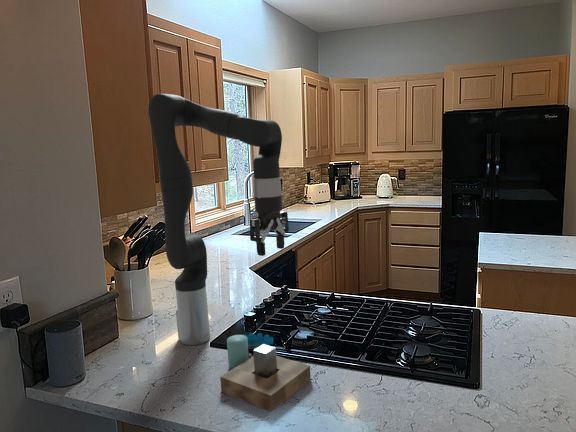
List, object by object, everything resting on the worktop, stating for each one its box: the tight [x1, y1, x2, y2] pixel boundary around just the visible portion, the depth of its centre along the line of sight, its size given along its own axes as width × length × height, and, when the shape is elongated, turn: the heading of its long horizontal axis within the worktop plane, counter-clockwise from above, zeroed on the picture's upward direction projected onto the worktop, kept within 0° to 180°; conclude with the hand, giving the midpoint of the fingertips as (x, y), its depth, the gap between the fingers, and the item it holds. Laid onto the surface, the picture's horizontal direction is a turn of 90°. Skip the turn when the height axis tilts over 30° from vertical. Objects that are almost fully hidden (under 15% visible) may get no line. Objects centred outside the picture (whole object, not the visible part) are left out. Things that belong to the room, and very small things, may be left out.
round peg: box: [226, 334, 250, 371], centre depth 128 cm, size 6×6×8 cm
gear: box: [243, 332, 274, 350], centre depth 135 cm, size 11×6×10 cm
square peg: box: [252, 344, 277, 379], centre depth 117 cm, size 4×4×10 cm
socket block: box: [220, 355, 311, 412], centre depth 117 cm, size 16×16×4 cm
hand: (271, 251), depth 131 cm, fingers open, 8 cm apart
